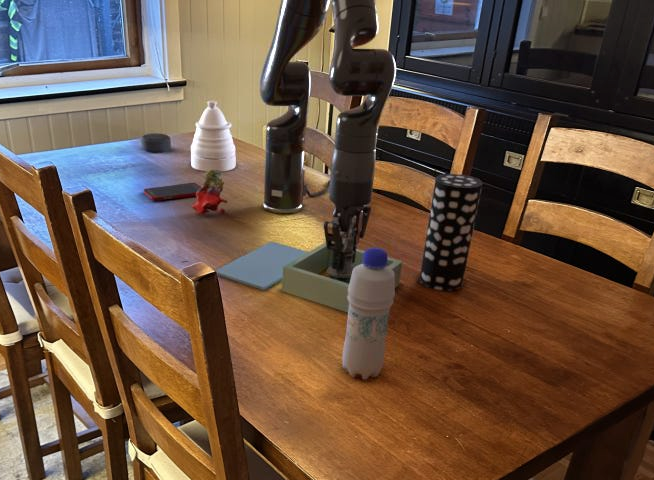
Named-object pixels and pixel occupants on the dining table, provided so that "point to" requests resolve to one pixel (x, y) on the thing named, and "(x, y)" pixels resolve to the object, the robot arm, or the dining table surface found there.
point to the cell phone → (172, 191)
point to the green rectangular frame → (323, 278)
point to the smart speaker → (156, 142)
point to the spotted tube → (450, 231)
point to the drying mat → (261, 265)
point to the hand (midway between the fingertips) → (343, 265)
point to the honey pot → (213, 142)
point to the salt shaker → (347, 271)
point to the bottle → (368, 314)
